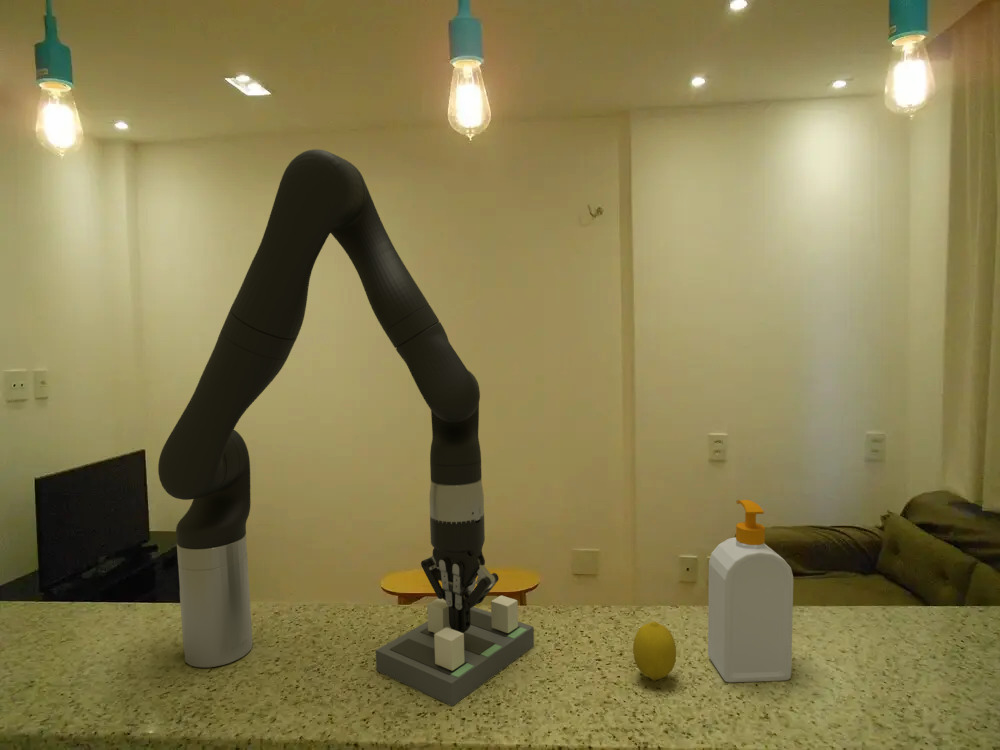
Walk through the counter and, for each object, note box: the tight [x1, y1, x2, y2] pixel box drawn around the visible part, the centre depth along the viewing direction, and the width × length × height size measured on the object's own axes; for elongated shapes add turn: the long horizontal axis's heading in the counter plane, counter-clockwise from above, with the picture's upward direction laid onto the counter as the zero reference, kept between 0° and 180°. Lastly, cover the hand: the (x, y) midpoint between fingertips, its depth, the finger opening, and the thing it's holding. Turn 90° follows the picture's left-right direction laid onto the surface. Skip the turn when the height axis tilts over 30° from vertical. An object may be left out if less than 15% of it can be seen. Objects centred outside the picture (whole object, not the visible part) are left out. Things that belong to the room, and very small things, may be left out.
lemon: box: [632, 620, 677, 681], centre depth 86 cm, size 6×6×8 cm
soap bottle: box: [707, 499, 794, 683], centre depth 87 cm, size 9×7×23 cm
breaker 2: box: [490, 595, 519, 633], centre depth 94 cm, size 3×2×4 cm
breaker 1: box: [434, 627, 464, 671], centre depth 85 cm, size 3×2×4 cm
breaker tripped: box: [426, 597, 451, 633], centre depth 94 cm, size 3×2×4 cm
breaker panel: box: [375, 606, 535, 707], centre depth 92 cm, size 14×18×3 cm
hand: (460, 630), depth 91 cm, fingers closed
